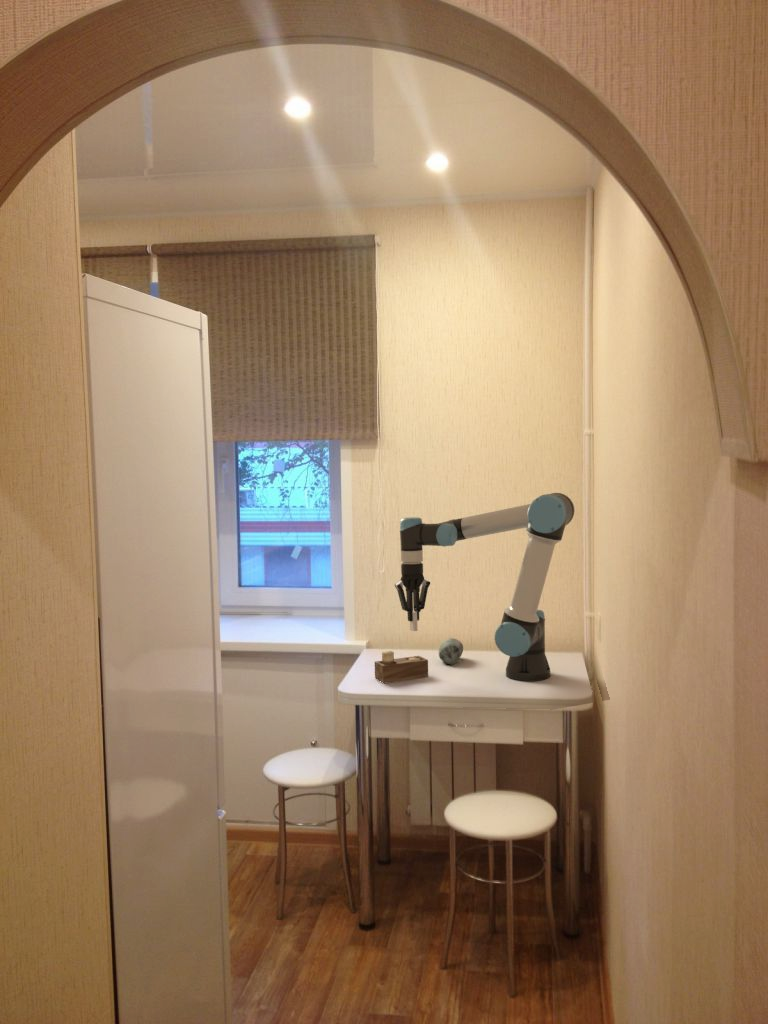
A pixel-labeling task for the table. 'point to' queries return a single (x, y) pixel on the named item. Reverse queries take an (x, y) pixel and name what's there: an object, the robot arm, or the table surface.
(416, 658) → the peg right
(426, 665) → the walnut block
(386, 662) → the peg left
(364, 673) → the table surface
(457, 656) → the grey green ridged egg
